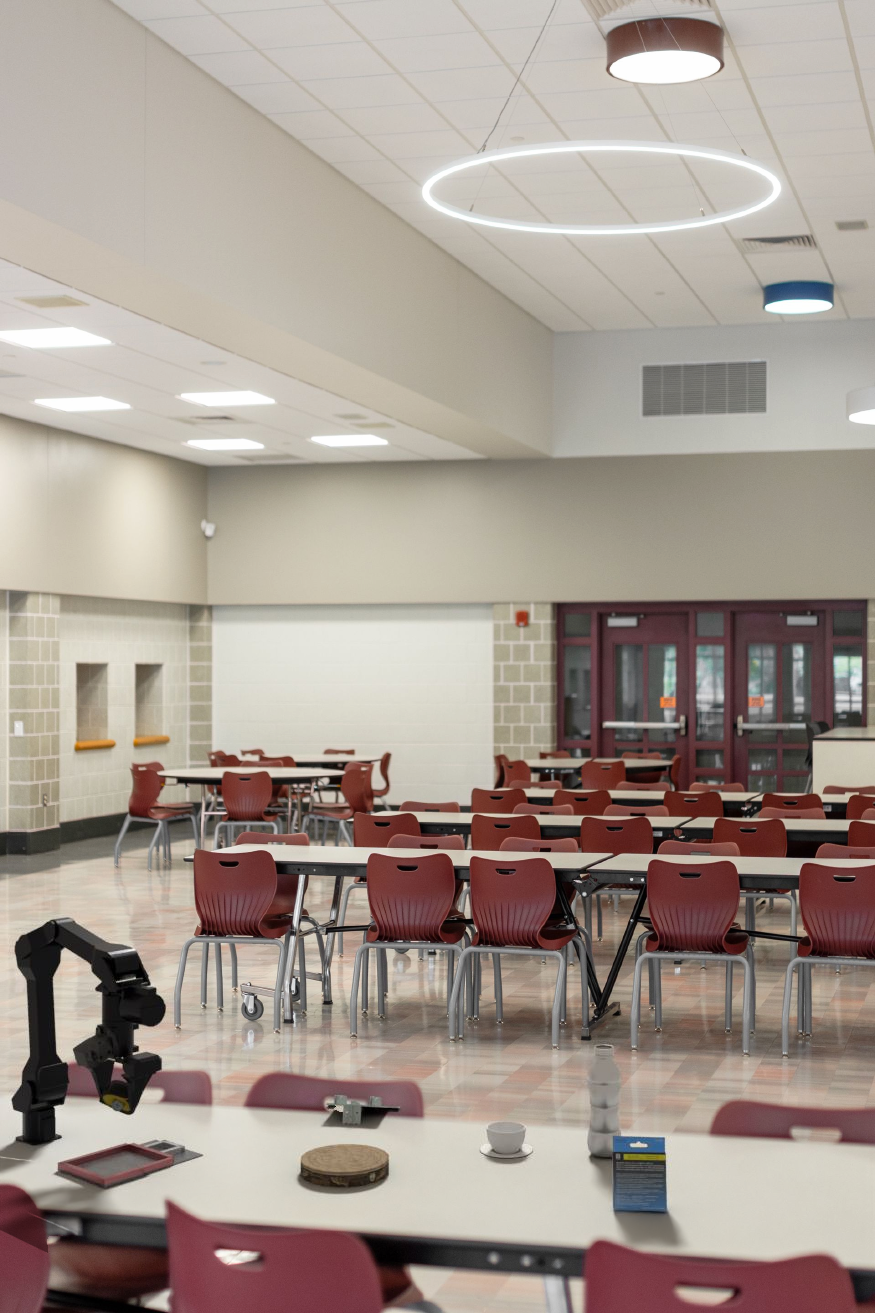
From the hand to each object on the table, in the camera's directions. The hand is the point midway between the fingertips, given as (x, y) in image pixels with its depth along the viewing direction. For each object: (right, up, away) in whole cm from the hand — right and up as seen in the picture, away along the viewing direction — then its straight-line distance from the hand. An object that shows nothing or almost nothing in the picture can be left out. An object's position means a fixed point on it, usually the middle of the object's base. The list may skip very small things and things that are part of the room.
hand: (117, 1105), depth 265 cm
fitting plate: (+2, -12, +2) cm, 12 cm away
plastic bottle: (+89, -11, +5) cm, 90 cm away
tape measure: (0, -2, 0) cm, 2 cm away
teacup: (+71, -12, +9) cm, 72 cm away
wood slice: (+41, -12, -3) cm, 43 cm away
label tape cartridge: (+92, -11, -22) cm, 95 cm away
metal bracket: (+50, -11, +30) cm, 59 cm away
